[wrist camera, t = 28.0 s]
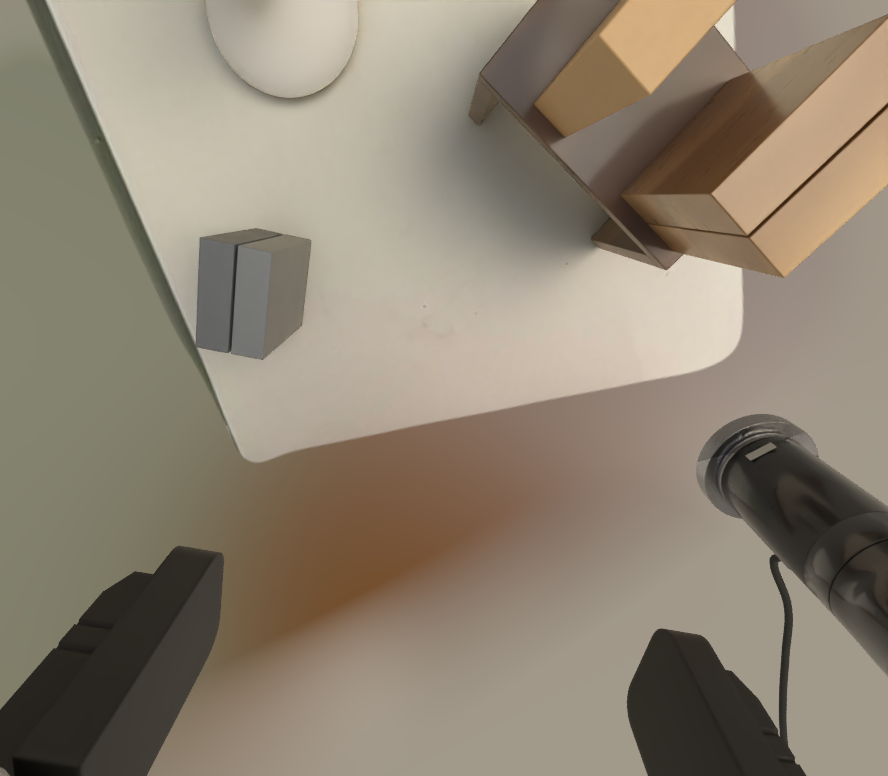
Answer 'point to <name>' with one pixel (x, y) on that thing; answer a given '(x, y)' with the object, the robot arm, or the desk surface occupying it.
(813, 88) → the rack
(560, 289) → the desk surface
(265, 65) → the flower in vase
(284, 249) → the grey books
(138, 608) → the robot arm
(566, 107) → the book
